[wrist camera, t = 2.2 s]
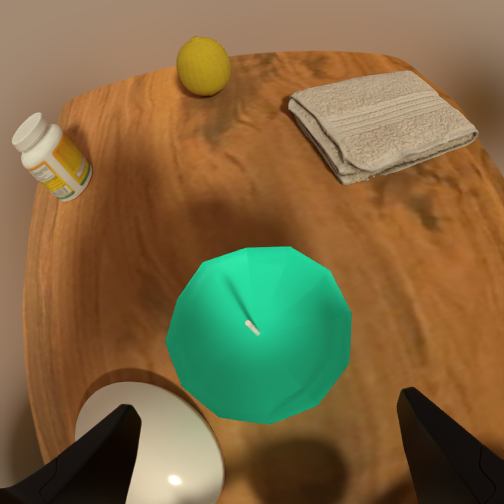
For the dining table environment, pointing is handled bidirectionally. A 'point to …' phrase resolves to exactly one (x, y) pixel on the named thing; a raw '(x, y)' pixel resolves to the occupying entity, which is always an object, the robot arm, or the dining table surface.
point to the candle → (260, 334)
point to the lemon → (203, 66)
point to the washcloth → (379, 124)
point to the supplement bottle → (52, 158)
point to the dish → (163, 445)
